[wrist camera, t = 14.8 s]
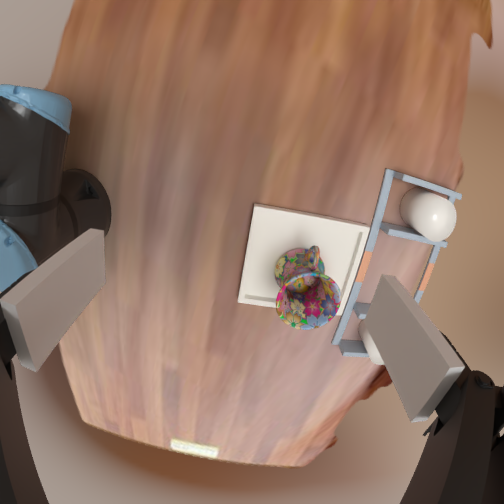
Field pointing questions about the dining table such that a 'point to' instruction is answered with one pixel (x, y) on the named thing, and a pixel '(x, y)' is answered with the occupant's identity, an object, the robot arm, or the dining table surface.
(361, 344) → the rack
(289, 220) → the tray
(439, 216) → the white glossy dome
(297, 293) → the mug
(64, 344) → the dining table surface
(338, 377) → the dining table surface
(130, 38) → the dining table surface
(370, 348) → the white rounded egg
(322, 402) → the dining table surface
